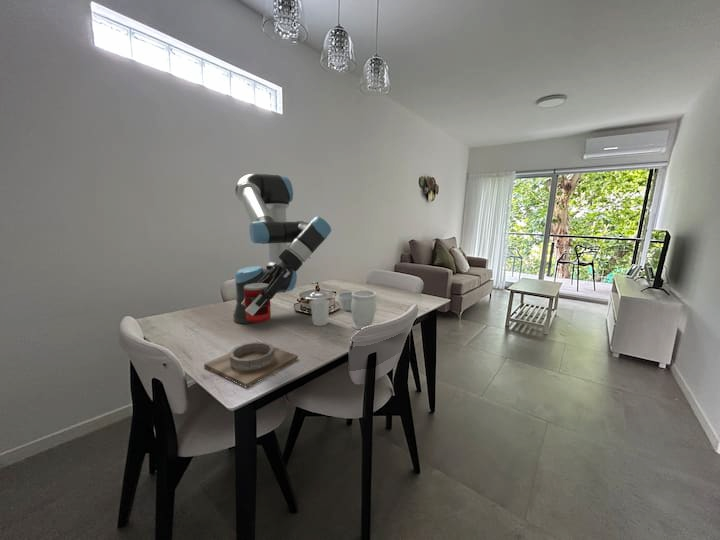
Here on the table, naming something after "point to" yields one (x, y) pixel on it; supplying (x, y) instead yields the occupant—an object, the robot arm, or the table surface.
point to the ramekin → (345, 301)
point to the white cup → (320, 311)
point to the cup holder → (250, 362)
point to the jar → (363, 308)
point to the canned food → (250, 295)
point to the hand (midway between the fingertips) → (246, 309)
